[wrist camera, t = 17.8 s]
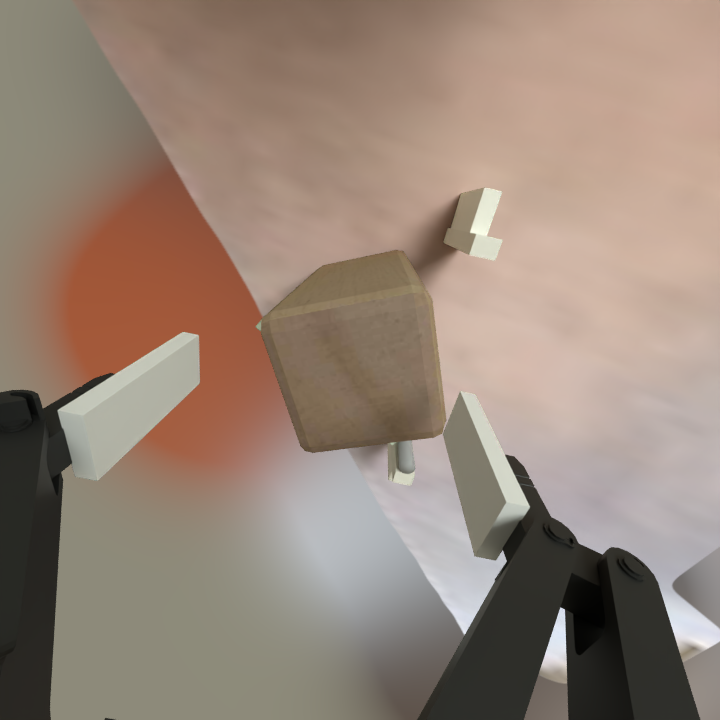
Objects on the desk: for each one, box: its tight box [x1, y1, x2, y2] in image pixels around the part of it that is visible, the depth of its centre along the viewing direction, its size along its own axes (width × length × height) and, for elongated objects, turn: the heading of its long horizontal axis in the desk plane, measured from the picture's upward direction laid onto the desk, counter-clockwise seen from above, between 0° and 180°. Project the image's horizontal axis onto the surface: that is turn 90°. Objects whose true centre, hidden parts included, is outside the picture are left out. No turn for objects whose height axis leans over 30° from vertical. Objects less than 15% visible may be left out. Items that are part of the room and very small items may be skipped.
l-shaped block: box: [387, 188, 503, 486], centre depth 33 cm, size 31×2×11 cm, turn 168°
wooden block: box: [261, 250, 446, 453], centre depth 28 cm, size 10×10×20 cm
